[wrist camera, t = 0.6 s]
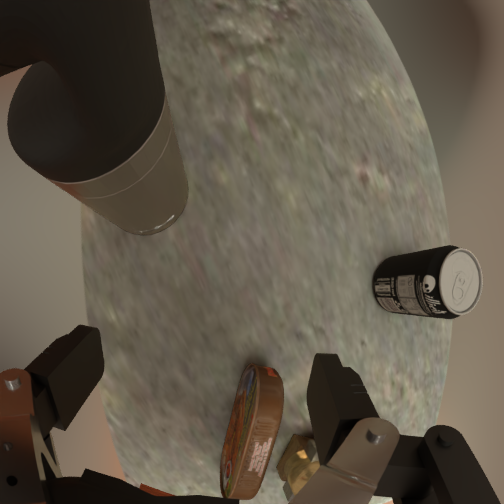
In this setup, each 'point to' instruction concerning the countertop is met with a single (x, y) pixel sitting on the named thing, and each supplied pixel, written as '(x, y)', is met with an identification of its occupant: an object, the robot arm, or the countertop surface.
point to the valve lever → (154, 491)
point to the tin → (251, 432)
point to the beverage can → (430, 283)
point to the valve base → (298, 464)
